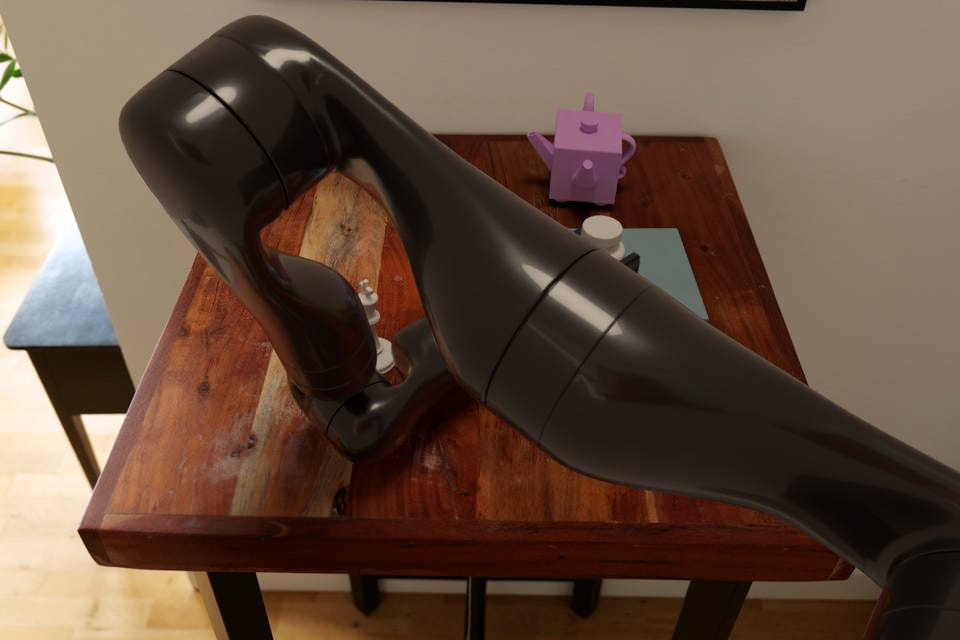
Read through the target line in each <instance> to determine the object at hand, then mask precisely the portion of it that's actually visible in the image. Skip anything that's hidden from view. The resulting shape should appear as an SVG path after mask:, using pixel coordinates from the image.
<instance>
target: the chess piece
mask: <svg viewBox="0 0 960 640" xmlns="http://www.w3.org/2000/svg"><path fill="white" fill-rule="evenodd" d="M358 286H359V288H360V289H362V291H361V292H359V293H358V295H359V297H360V299H361V302H362V304H363V307H364V309H365V312H366V315H367V318H368V321H369V324H370V327H371V330H372V333H373V336H374V339H375V343H376V349H377V365H376V369H377V370H378V371H379V372H380V373H381V374H382V375H384V374H387V373H388V372H389V371H390V370H392V369H393V368H394V367H395V364H394V362H393V359H392V355H391V343H392V341H389V339H386V338H384V337H380V336H378V332H377V328H376V324H377V323H378V322H379V321H380V318H381V314H380V312H379V310H377V309H376V307H377V304H378V301H379V295H378V293H376V292H375V291H374V289H373V287H372V288H371V286H370V281H369V280H368V279H367V278H365V279H363V280H361V281H360V282H358Z"/></svg>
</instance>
